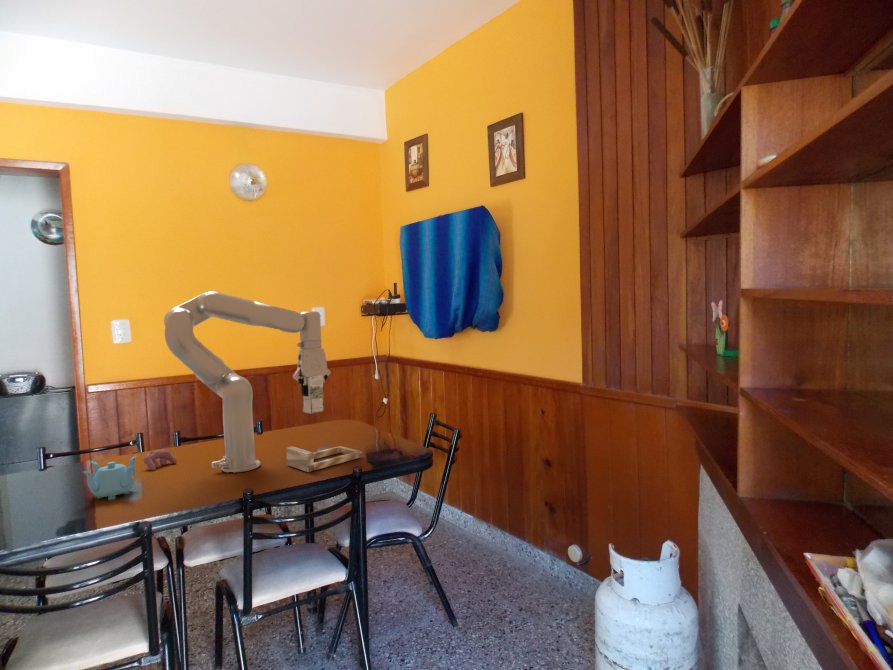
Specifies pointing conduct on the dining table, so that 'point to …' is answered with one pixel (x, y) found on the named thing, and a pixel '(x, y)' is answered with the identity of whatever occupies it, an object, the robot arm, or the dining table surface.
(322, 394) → the syrup box
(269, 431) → the dining table surface
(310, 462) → the frame
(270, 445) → the dining table surface
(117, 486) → the teapot
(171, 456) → the pink animal figurine
